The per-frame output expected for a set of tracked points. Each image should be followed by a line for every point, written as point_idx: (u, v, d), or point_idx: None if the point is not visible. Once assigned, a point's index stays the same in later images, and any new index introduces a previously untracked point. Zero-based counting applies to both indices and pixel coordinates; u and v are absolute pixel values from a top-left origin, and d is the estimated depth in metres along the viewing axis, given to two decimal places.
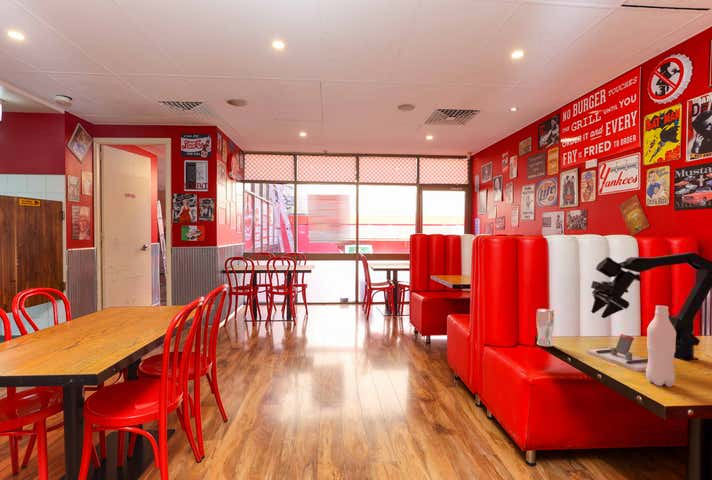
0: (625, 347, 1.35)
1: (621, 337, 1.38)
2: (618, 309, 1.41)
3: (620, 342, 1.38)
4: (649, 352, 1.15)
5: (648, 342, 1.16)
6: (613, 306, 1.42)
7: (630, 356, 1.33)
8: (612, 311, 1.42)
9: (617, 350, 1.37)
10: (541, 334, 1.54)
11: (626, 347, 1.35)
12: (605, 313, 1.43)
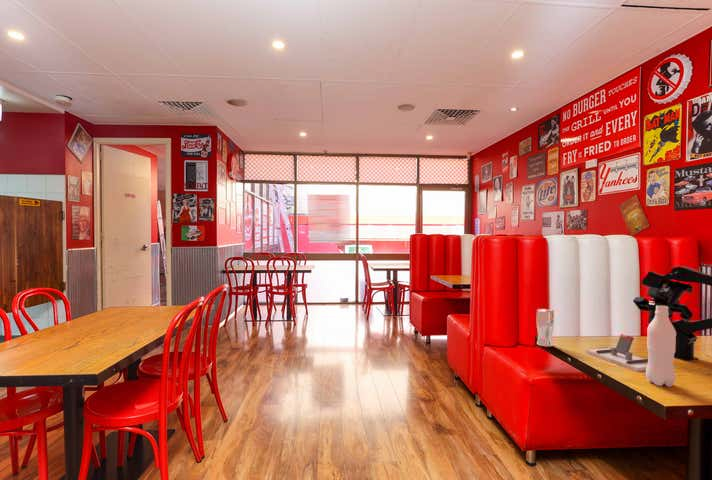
0: (625, 347, 1.35)
1: (621, 337, 1.38)
2: None
3: (620, 342, 1.38)
4: (649, 352, 1.15)
5: (648, 342, 1.16)
6: None
7: (630, 356, 1.33)
8: None
9: (617, 350, 1.37)
10: (541, 334, 1.54)
11: (626, 347, 1.35)
12: None
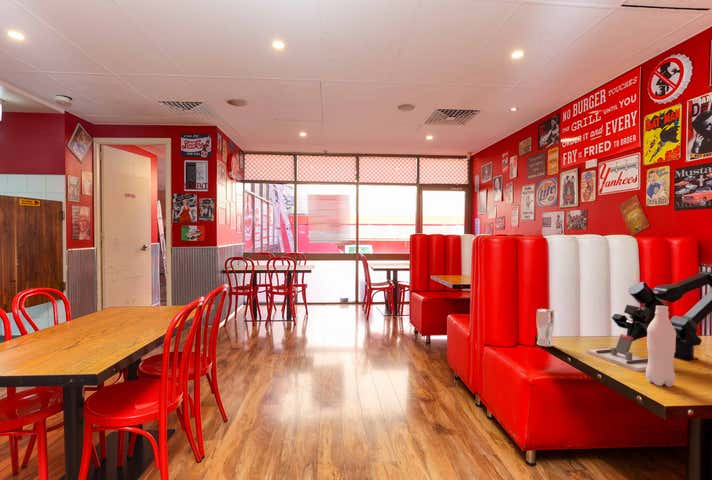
0: (625, 347, 1.35)
1: (621, 337, 1.38)
2: (644, 335, 1.36)
3: (620, 342, 1.38)
4: (649, 352, 1.15)
5: (648, 342, 1.16)
6: (639, 331, 1.37)
7: (630, 356, 1.33)
8: (638, 336, 1.37)
9: (617, 350, 1.37)
10: (541, 334, 1.54)
11: (626, 347, 1.35)
12: None
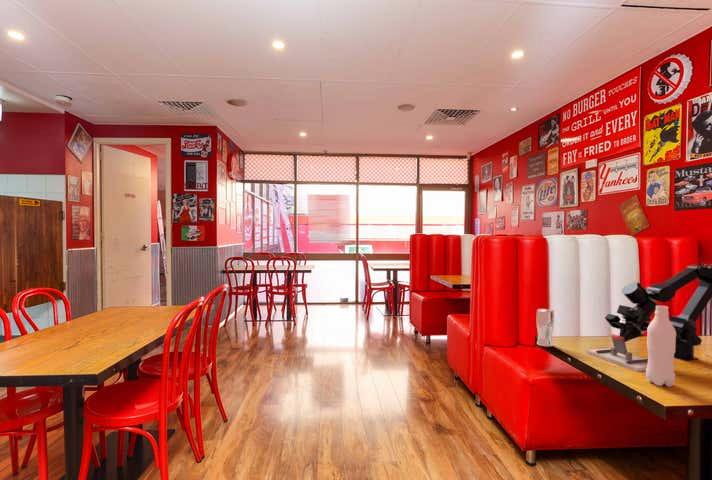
0: (622, 348, 1.35)
1: (613, 338, 1.37)
2: (636, 335, 1.36)
3: (615, 344, 1.37)
4: (649, 352, 1.15)
5: (648, 342, 1.16)
6: (632, 332, 1.36)
7: (630, 356, 1.33)
8: (631, 337, 1.36)
9: (617, 351, 1.37)
10: (541, 334, 1.54)
11: (623, 348, 1.35)
12: (624, 338, 1.36)
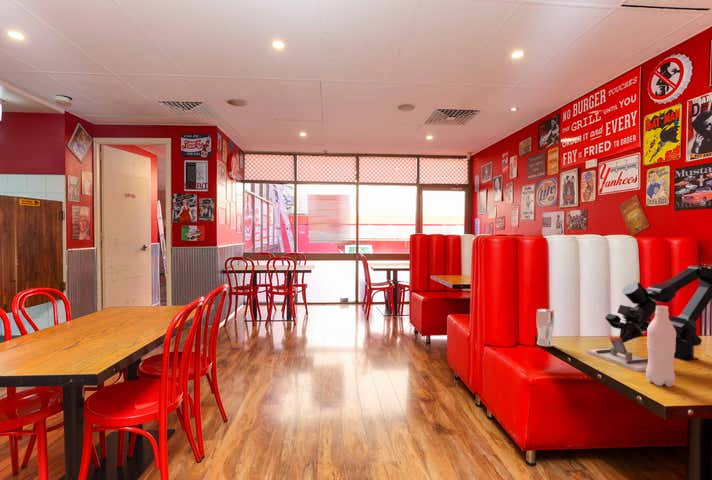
0: (621, 349, 1.35)
1: (611, 340, 1.37)
2: (637, 335, 1.36)
3: (614, 345, 1.37)
4: (649, 352, 1.15)
5: (648, 342, 1.16)
6: (632, 332, 1.36)
7: (630, 356, 1.33)
8: (631, 337, 1.36)
9: (617, 351, 1.37)
10: (541, 334, 1.54)
11: (622, 349, 1.34)
12: (625, 338, 1.36)
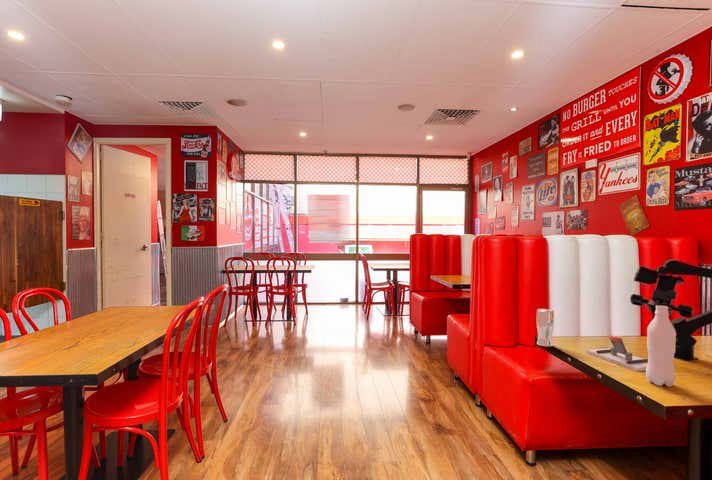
0: (621, 349, 1.35)
1: (611, 340, 1.37)
2: None
3: (614, 345, 1.37)
4: (649, 352, 1.15)
5: (648, 342, 1.16)
6: None
7: (630, 356, 1.33)
8: None
9: (617, 351, 1.37)
10: (541, 334, 1.54)
11: (622, 349, 1.34)
12: None
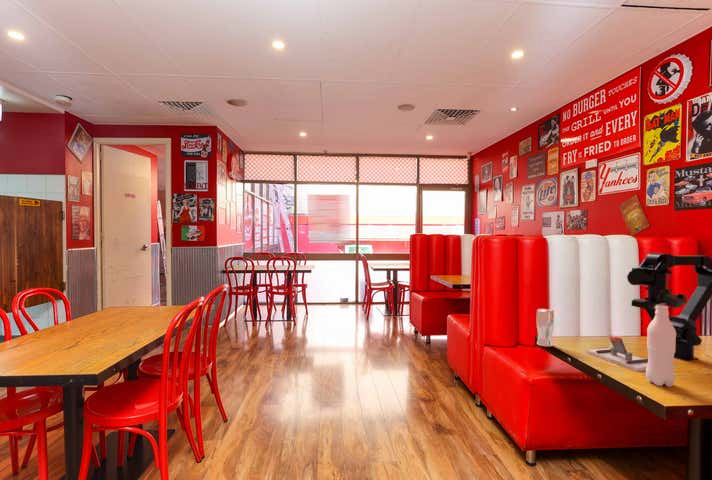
0: (621, 349, 1.35)
1: (611, 340, 1.37)
2: None
3: (614, 345, 1.37)
4: (649, 352, 1.15)
5: (648, 342, 1.16)
6: None
7: (630, 356, 1.33)
8: None
9: (617, 351, 1.37)
10: (541, 334, 1.54)
11: (622, 349, 1.34)
12: None
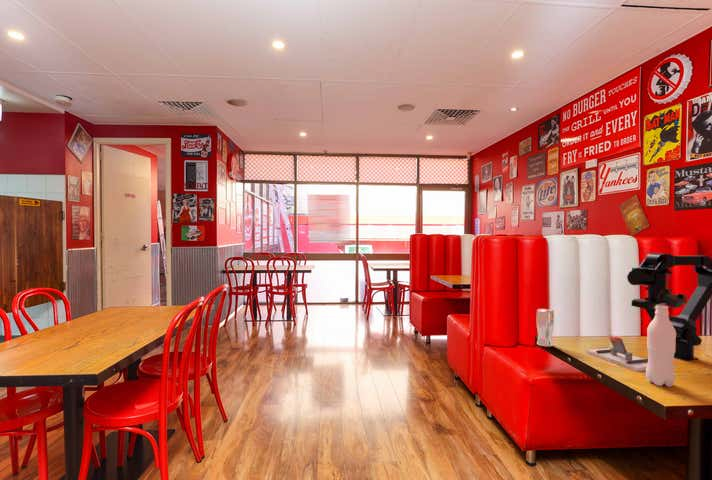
0: (621, 349, 1.35)
1: (611, 340, 1.37)
2: None
3: (614, 345, 1.37)
4: (649, 352, 1.15)
5: (648, 342, 1.16)
6: None
7: (630, 356, 1.33)
8: None
9: (617, 351, 1.37)
10: (541, 334, 1.54)
11: (622, 349, 1.34)
12: None
